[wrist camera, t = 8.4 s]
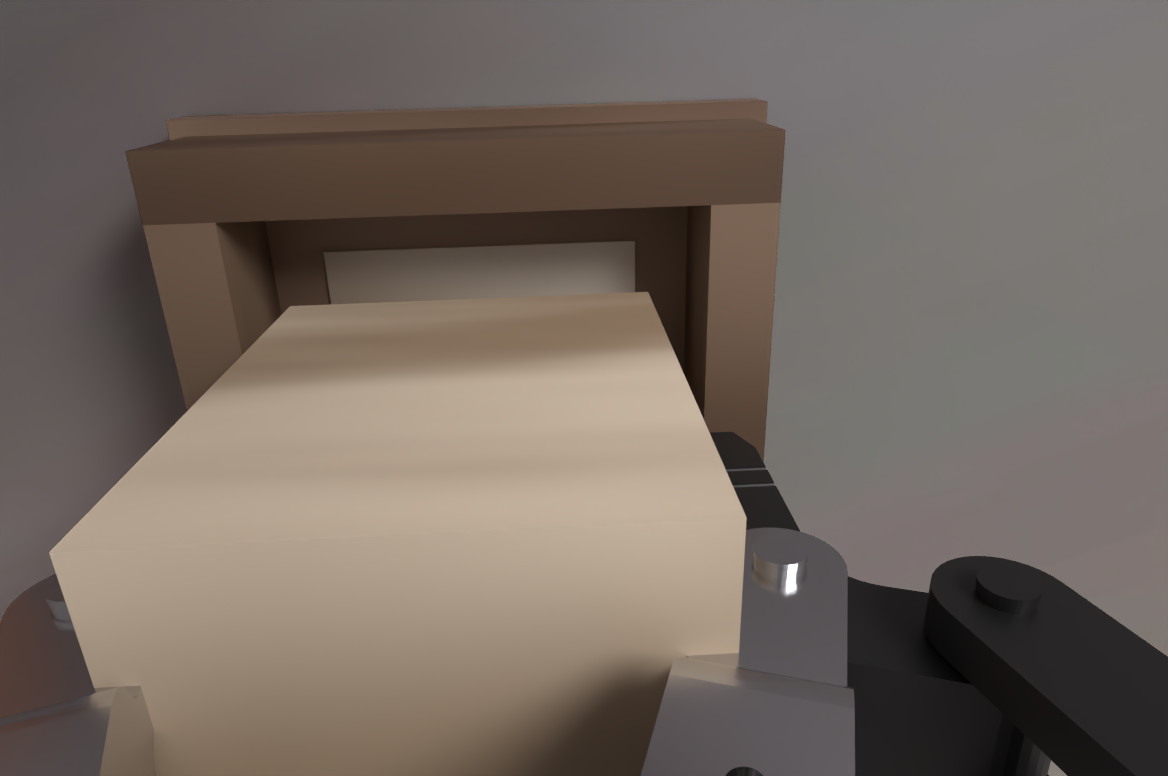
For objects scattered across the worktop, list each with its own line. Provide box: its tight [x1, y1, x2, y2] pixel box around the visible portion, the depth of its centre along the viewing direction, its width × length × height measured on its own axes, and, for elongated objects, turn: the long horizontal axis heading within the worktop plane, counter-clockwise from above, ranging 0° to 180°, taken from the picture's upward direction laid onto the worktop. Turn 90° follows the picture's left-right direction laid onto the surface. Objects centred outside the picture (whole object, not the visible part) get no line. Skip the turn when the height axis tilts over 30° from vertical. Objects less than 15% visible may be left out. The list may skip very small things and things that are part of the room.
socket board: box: [125, 99, 785, 461], centre depth 14 cm, size 10×10×3 cm
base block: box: [49, 292, 747, 776], centre depth 10 cm, size 5×5×6 cm
